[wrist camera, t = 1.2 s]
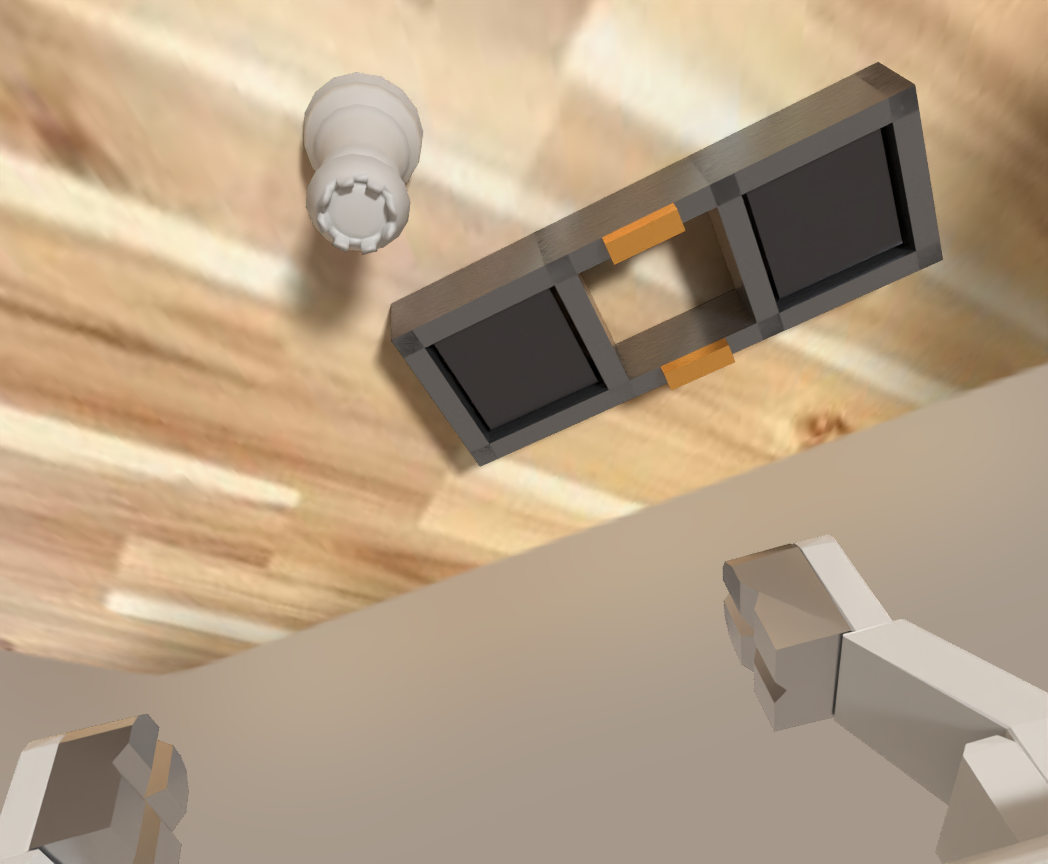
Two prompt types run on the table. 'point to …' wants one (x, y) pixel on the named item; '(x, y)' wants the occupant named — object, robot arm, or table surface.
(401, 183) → the rook chess piece
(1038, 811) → the robot arm
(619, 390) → the rack
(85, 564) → the table surface
